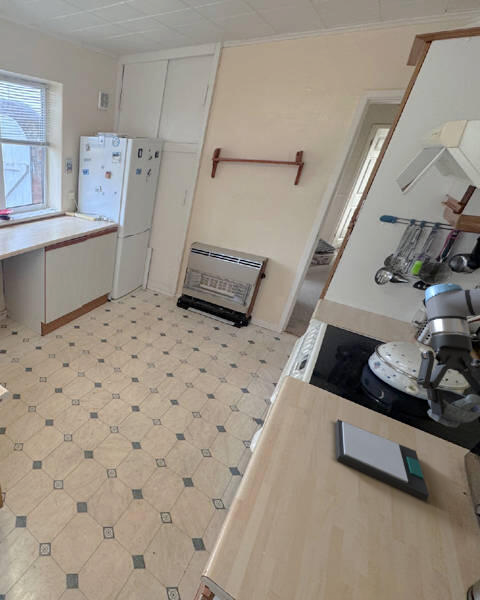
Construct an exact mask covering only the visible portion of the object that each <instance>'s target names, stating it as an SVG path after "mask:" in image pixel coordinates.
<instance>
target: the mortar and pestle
mask: <svg viewBox="0 0 480 600" xmlns="http://www.w3.org/2000/svg"><path fill="white" fill-rule="evenodd" d="M436 389H442V397H443V404H444V412H445V414H432V409H431V400H428V399H427V404H428V406H429V407H430V408H429V409H428V410H427V414H428V416H429V417H430V418H431V419H433V420H434V421H435V422H437V423H439V424H441V425H443V426H445V427H449V428H454V429H455V428H457V427H459V426H460V425H461V424H466V423H471V422H473V421H475V420H476V419H478V417H479V416H480V397H479V396H477V394H476V393H475V394H473V393H470V394H467V395H465V394H462V393H460V392H457V391H454V390H452V389H447V388H442V387H437V388H436Z"/></svg>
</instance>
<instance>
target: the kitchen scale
mask: <svg viewBox="0 0 480 600" xmlns="http://www.w3.org/2000/svg"><path fill="white" fill-rule="evenodd" d="M334 426H335V451H336V452H335V453H336V461H337V462H340V463H341V464H344V465H345V466H348V467H350V468H353V469H355V470H357V471H359V472H361V473H363V474H366V475H368V476H370V477H372V478H374V479H377V480H379V481H381V482H383V483H385V484H386V485H387V484H388V485H390V486H392V487H394V488H396V489H398V490H400V491H402V492H405V493H407V494H409V495H412V496H414V497H416V498H418V499H420V500H422V501H424V502H425V501H426V500H427V499H428V498H429V497H430V493H429V490H428V487H427V483H426V480H425V477H424V473H423V470H422V467H421V464H420V461H419V458H418V453H417V450H415V449H412V448H410V447H407V446H405V445H402V444H400V443H397V442H395V441H393V440H390V439H388V438H385V437H383V436H380V435H378V434H376V433H374V432H370V431H368V430H366V429H364V428H360V427H359V426H355V425H354V424H351V423H348V422H346V421H343V420H342V419H337V420H336V422H335V424H334Z"/></svg>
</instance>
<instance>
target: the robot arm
mask: <svg viewBox="0 0 480 600" xmlns="http://www.w3.org/2000/svg"><path fill="white" fill-rule="evenodd" d="M424 296H425V301H424V303H425V308H426V314H427V321H428V331H429V335H430V346H431V350H426V351H421V352H420V358H421V363H420V366H419V371H418V375H417V379H416V384H417V385H419V386H421V388H422V389H425V390H426V396H427V401H428V400H431V407H430V409H432V414H445V412H444V404H443V397H442V389H436V388H439V385H440V384H441V382H442V380H443V379H444V377H445V375H446V373H447V372H448V370H452V371H456V372H457V373H458V374H459V375H461V376H462V377H463V378H464V380H465V381H466V382H467V384H468V385H469V386H470V387H471V389H472V390H473V392H474V393H475V395H477V396H479V397H480V359H478V358H474V357H473V356H472V354H471V353H472V350H473V345H472V339H471V337H469V336H471V333H470V327H469V322H468V317H477V316H479V317H480V287H479V288H472V289H463V287H462V286H461V285H459V284H456V283H438V284H433V285H431V286H429V287H427V288H426V289H425V295H424ZM435 360H436V363H435ZM477 422H478V423H479V424H480V416H479V417H478V418H477Z"/></svg>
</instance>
